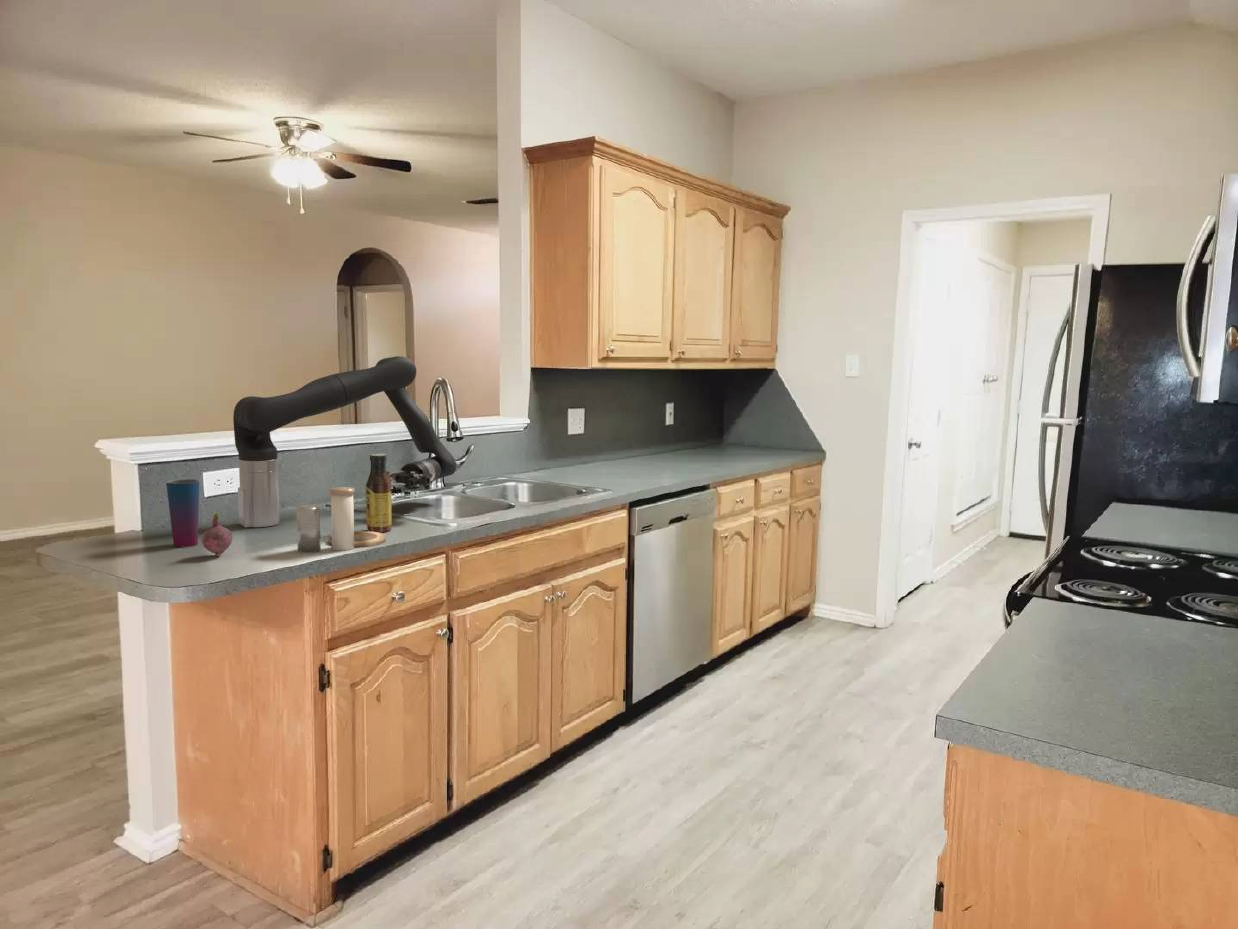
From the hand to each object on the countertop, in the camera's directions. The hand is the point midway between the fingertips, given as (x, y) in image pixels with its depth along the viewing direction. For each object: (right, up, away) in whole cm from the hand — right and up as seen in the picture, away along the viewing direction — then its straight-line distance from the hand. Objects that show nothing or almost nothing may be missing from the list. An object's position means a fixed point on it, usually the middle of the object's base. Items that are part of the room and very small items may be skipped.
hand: (394, 482), depth 223 cm
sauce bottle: (-2, -12, -8) cm, 15 cm away
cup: (-41, -14, -28) cm, 52 cm away
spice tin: (-12, -15, -30) cm, 35 cm away
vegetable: (-29, -16, -37) cm, 50 cm away
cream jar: (-5, -15, -27) cm, 31 cm away
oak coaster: (-4, -14, -20) cm, 24 cm away
